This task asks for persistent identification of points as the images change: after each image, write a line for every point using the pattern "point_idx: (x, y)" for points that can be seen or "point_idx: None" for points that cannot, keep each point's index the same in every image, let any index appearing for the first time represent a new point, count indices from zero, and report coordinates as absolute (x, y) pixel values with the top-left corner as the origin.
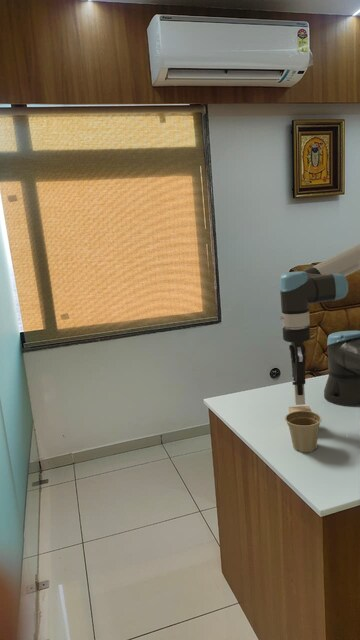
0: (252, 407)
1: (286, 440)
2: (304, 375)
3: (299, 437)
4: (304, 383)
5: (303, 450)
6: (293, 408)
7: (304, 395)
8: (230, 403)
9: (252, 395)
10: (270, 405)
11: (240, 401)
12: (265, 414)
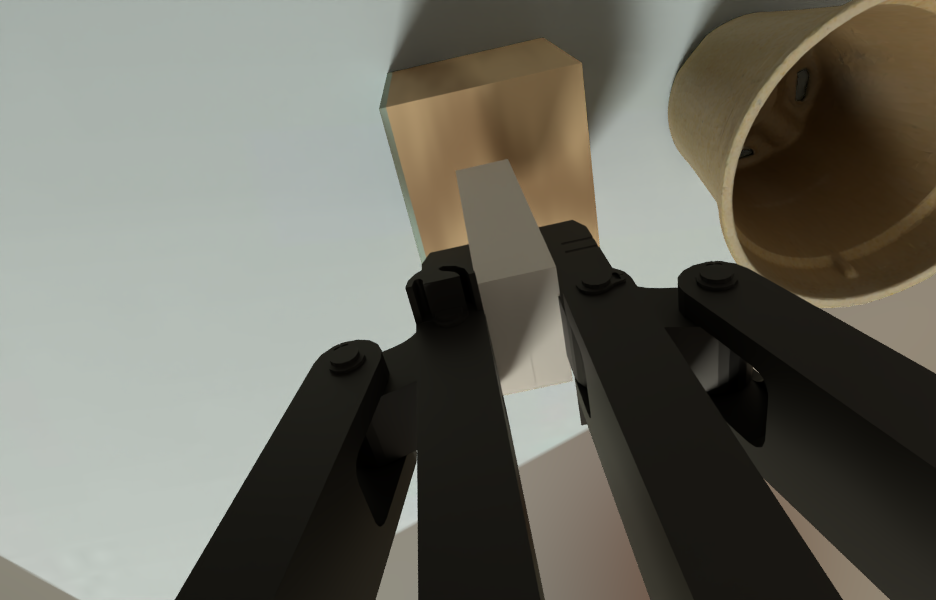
0: (206, 458)
1: (646, 217)
2: (889, 363)
3: (896, 153)
4: (744, 277)
5: (823, 104)
6: (459, 245)
7: (524, 197)
8: (188, 562)
9: (7, 492)
10: (132, 371)
11: (138, 528)
12: (291, 378)
